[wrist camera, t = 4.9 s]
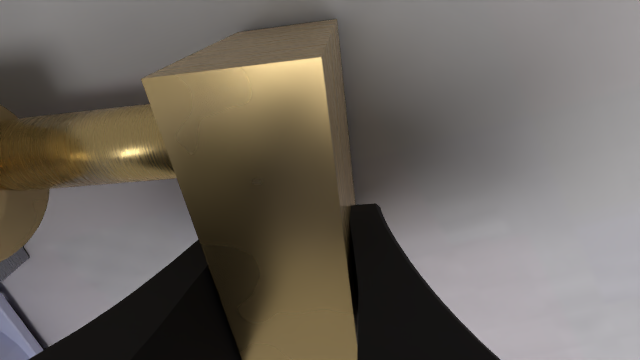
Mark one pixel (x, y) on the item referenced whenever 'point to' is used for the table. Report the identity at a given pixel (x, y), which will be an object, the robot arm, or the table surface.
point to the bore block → (12, 263)
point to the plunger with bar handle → (225, 179)
